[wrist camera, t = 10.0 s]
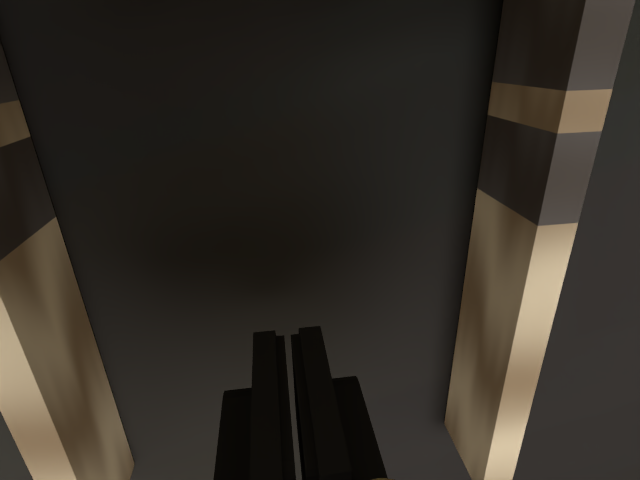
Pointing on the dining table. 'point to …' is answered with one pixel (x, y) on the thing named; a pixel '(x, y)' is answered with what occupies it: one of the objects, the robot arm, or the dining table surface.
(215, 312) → the dining table surface
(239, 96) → the dining table surface
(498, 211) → the track
